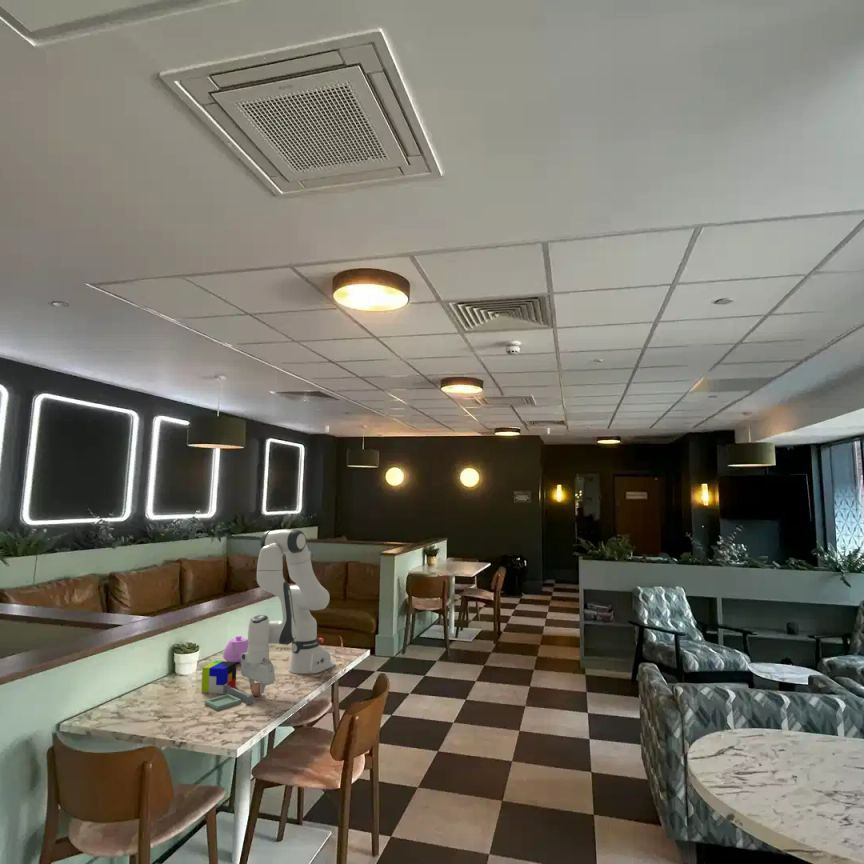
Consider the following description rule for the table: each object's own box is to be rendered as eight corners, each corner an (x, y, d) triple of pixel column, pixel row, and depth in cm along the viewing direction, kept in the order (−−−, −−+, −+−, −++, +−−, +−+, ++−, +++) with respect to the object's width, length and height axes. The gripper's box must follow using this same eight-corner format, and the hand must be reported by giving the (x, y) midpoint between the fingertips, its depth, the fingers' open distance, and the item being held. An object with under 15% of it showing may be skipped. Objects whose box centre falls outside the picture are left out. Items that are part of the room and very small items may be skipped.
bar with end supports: (228, 692, 236) (228, 685, 237) (253, 703, 224) (253, 695, 224) (223, 694, 235) (223, 686, 235) (247, 704, 222) (247, 697, 223)
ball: (259, 692, 236) (259, 680, 237) (265, 695, 233) (266, 682, 233) (248, 695, 232) (248, 683, 233) (254, 698, 229) (255, 685, 230)
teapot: (246, 667, 271) (247, 641, 272) (216, 668, 270) (217, 642, 271) (256, 655, 291) (257, 631, 292) (228, 656, 289) (229, 632, 291)
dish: (228, 697, 230) (228, 693, 231) (241, 703, 224) (241, 699, 224) (204, 704, 223) (204, 700, 223) (217, 710, 216) (217, 706, 217)
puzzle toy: (222, 693, 235) (223, 668, 236) (201, 692, 237) (202, 667, 238) (235, 685, 245) (236, 662, 246) (215, 684, 247) (216, 660, 248)
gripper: (279, 659, 230) (278, 694, 228) (251, 650, 243) (250, 684, 242) (265, 663, 225) (264, 699, 224) (238, 653, 239) (237, 687, 237)
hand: (257, 691), depth 233 cm, fingers closed on ball, 5 cm apart
